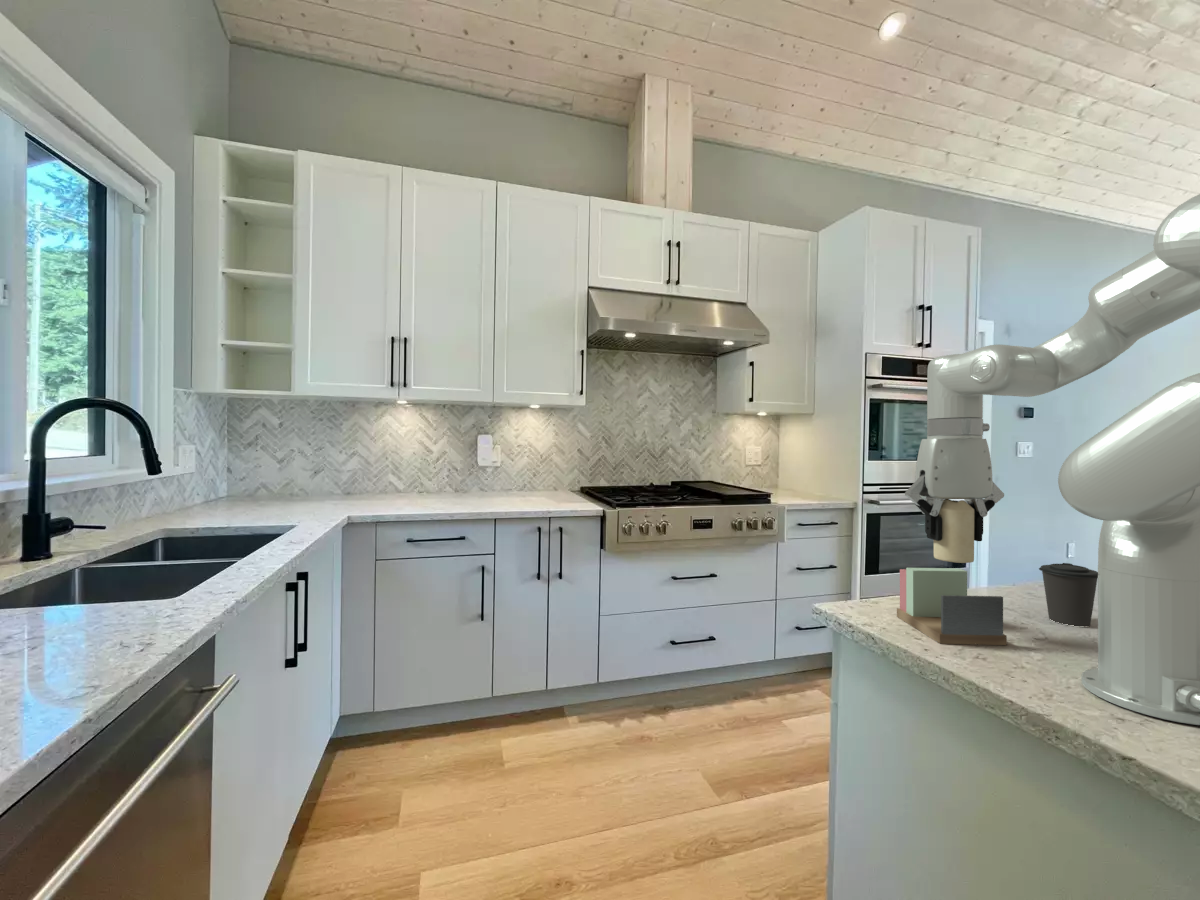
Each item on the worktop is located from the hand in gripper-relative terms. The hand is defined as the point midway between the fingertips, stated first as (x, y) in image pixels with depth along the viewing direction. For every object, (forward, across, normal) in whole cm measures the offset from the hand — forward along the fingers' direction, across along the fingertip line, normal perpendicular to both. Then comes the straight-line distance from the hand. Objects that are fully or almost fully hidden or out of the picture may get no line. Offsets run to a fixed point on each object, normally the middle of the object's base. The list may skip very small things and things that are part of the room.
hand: (953, 538), depth 84 cm
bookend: (+14, 0, +4) cm, 15 cm away
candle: (+4, 0, 0) cm, 4 cm away
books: (+14, 0, -6) cm, 16 cm away
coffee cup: (+16, -24, -7) cm, 30 cm away
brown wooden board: (+16, 0, -2) cm, 16 cm away
